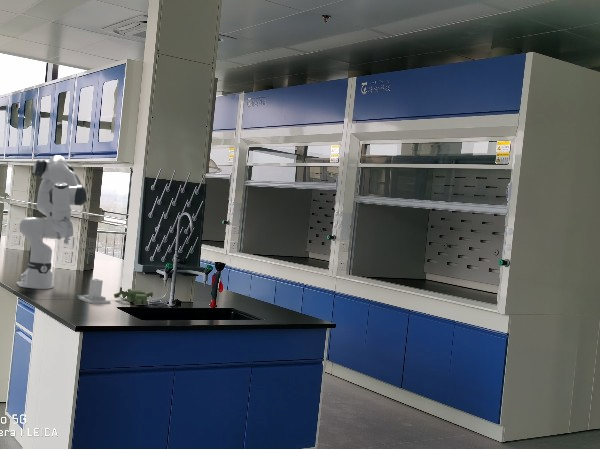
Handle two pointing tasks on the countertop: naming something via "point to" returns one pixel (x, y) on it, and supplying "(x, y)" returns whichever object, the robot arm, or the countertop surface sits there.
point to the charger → (95, 288)
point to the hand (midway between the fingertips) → (62, 241)
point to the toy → (134, 296)
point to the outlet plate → (94, 299)
